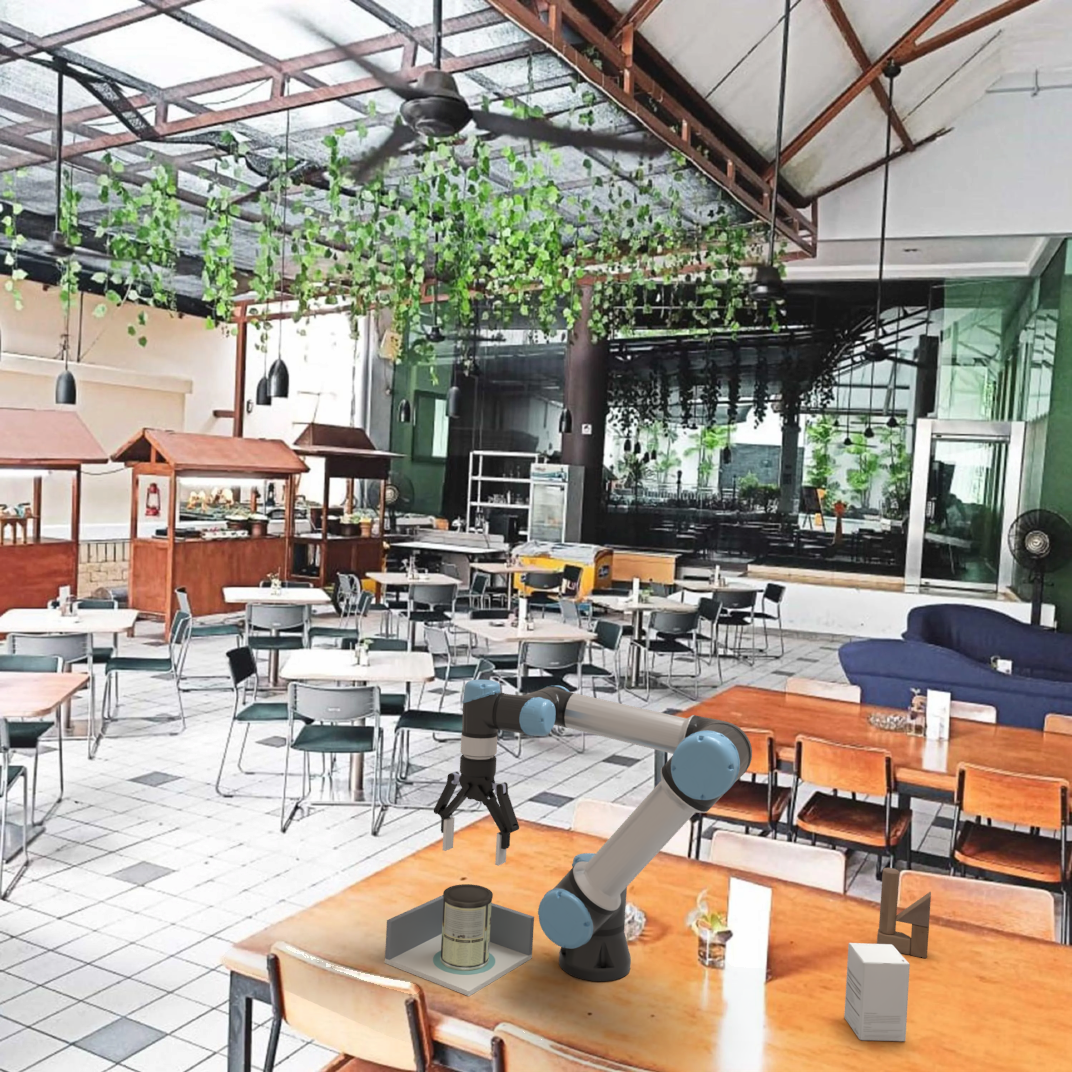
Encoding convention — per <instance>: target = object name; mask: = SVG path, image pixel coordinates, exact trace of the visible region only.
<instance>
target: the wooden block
mask: <svg viewBox="0 0 1072 1072" xmlns="http://www.w3.org/2000/svg"><path fill="white" fill-rule="evenodd" d="M899 883H900V871H899V870H898V869H896V868H894V867H884V868H883V869H882V876H881V893H880V907H879V921H878V922H879V923H878V925H879V926H878V929H877V934H876V936H877V937H876V944H892V945H893V946H894V947H895V948H896V949H897V950H898V952H899V953H900V954H904V955H910V956H913V957H917V958H921V957H922V958H921V959H923V958H924V959H927V958H928V947H929V932H930V917H931V916H930V915H931V902H932V898H931V897H932V892H931V891H929V892H927V893H926V894H924V895H923V896H922V897H920V898H919V899H918V900H916V901H915V902H913V903H912V904H911V905H909V906H908V907H906V908H904V909H903V910H902V911H900V913H898V901H899V900H898V898H899ZM897 913H898V914H897ZM897 922H899V923H905V924H910V925H911V933H910V936H909V935H907V934H906V933H904V932H901V931H897V930H896V929H897Z"/></svg>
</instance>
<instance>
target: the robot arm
mask: <svg viewBox="0 0 1072 1072" xmlns="http://www.w3.org/2000/svg"><path fill="white" fill-rule="evenodd" d="M461 704H462V726H461V738H460V750H459V751H460V753H461V754H462V755H460V757H459V759H460V760H459V762H460V763H459V772H460V773H459V772H458V771H454V772H451V773H448V774H447V778H446V779H447V780H446V784H445V786H444V788H443V790H442V792H441V793H440V796H439V798H438V800H437V803H436V804H435V806H434V808H433V813H434V814H435V815H439V817H440V818H441V820H440V821H441V822H440V832H441V834H442V837H443V838H442V851H444V852H446V851H449V850H451V849H453V848H454V837H455V836H454V835H455V817H454V816H453V815H454V813H455V812H456V810H457V809H458V808H459V807H460V806H461V805H462V803H464V801H465V800H466V799H467V800H474V801H475V802H479V803H480V802H482V804H483V805H484V806H485V807H486V809H487V810H488V812H489V814H490V815H491V818H492V819H493V821H494V822H495V823H494V824H495V825H496V827H497V828H498V830H499V832H497V833H496V842H495V843H496V845H495V863H494V865H495V866H501V865H502V864H505V863H506V862H507V849H509V848H510V842H511V833H513V832H515V831H518V830H519V829H520V825H519V822H518V819H517V816H516V813H515V810H514V807H513V804H512V801H511V798H510V795H509V787H508V786H509V785H508V783H507V782H506V781H504V782H502V783H499V782H498V783H497V782H496V781H495V777H496V772H497V757H496V754H497V751H498V732H499V731H505V732H512V733H517V734H523V735H528V736H533V737H534V736H539V737H545V736H548V735H549V734H551V731H552V730H553V728H554V726H558V727H562V728H567V729H570V730H571V729H572V730H575V731H579V732H583V733H587V734H592V735H595V736H599V737H604V738H607V739H612V740H616V741H620V742H624V743H628V744H632V745H636V746H640V747H644V748H649V749H650V750H651V749H652V750H656V751H660V752H663V753H668V754H672V756H671V757H670V758H669V759H668V760H667V761H666V763H665V764H664V765H663V766H662V767H661V768H660V779H661V780H660V781H659V782H658V783H657V785H656V786H655V787H654V788H653V789H652V790H651V791H650V792H649V793H648V795H647V796H646V797H645V798H644V799H643V800H642V801H641V802H640V803H639V804H638V806H637V807H636V808H635V809H634V810H633V811H632V813H631V814H630V815H628V817H627V818H626V819H625V820H624V821H623V823H622V824H620V826H619V827H618V828H617V829H616V830H615V832H614V833H613V834H612V835H611V836H610V837H608V839H607V840H606V842H605V843H604V844H603V845H602V846H601V847H600V848H599V849H598V851H596V853H593V852H592V853H591V852H589V853H587V852H586V853H579V854H576V855H575V856H574V857H573V861H572V863H571V866H572V868H571V869H570V870H569V871H568V872H567V873H566V874H565V876H564V877H562V879H561V880H560V881H559V882H558V883H557V884H556V885H555V886H554V887H553V888H552V889H550V890H548V891H547V892H546V893H545V894H544V895H543V897H542V899H541V900H540V902H539V906H538V909H537V910H538V911H537V915H538V922H539V923H538V924H539V925H540V927H541V930H542V931H543V934H544V935H545V936H546V937H547V938H548V939H549V940H550V941H551V942H552V943H553V944H554V945H556V946H559V947H560V949H559V956H558V957H559V958H558V964H559V967H560V968H561V969H562V970H563V971H564V972H565V973H567V974H569V975H570V976H573V977H575V978H578V979H581V980H586V981H592V982H608V981H615V980H619V979H622V978H623V977H626V976H627V975H629V973H630V971H631V963H632V958H631V953H630V949H629V945H628V941H627V939H626V938H627V937H626V933H625V921H626V910H627V909H626V908H627V907H626V906H627V892H628V890H627V889H628V886H629V885H630V884H631V883H632V882H633V881H634V880H635V879H636V877H637V876H639V874H640V873H641V872H642V871H643V870H644V869H645V868H646V866H647V865H649V863H651V861H652V860H654V858H655V857H656V856H657V855H658V854H659V852H661V850H662V849H663V848H665V846H666V845H667V844H668V843H669V842H670V841H671V839H672V838H673V837H674V836H675V835H676V834H677V833H678V832H679V831H680V830H681V828H683V827H684V825H686V823H688V821H690V820H691V818H692V817H693V815H695V814H696V813H697V814H698V813H699V814H705V813H708V811H709V810H711V808H712V807H713V806H715V804H716V803H717V802H718V801H719V800H720V798H722V797H723V796H724V794H726V793H727V792H728V791H729V790H730V789H731V788H732V787H733V786H734V784H735V783H736V782H737V781H738V780H739V779H740V778H741V777H742V776H743V775H744V774H745V773H746V772H747V771H748V769H749V767H750V765H751V763H752V759H753V749H752V743H751V741H750V739H749V737H748V735H747V734H746V733H745V732H744V731H743V729H741V727H739V726H737V725H736V724H734V723H732V722H728V721H726V720H721V719H716V718H709V717H705V716H700V715H695V714H692V715H691V716H689V717H687V718H686V717H682V716H677V715H672V714H668V713H664V712H659V711H656V710H650V709H647V708H642V707H637V706H633V705H628V704H624V703H621V702H620V703H619V702H615V701H611V700H606V699H601V698H597V697H593V696H588V695H583V694H580V693H576V692H571V691H570V690H569V689H568V688H566V687H564V686H562V685H549V686H546V687H543V688H541V689H538V690H536V691H532V692H530V693H526V694H524V695H521V694H520V695H518V694H509V693H505V692H501V685H500V683H499V682H498V681H497V680H496V681H495V680H493V679H492V680H491V679H472V680H468V681H467V682H465V685H464V690H463V697H462V701H461ZM458 784H460V787H461V788H460V789H459V790H458V792H457V793H456V795H455V796H454V798H453V799H452V800H451V798H452V797H453V794H454V792H455V790H456V788H457V786H458ZM450 800H451V801H450Z"/></svg>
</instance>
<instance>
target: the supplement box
mask: <svg viewBox="0 0 1072 1072" xmlns="http://www.w3.org/2000/svg"><path fill="white" fill-rule="evenodd" d="M847 947H848V949H847V964H846V980H845V982H846V983H845V997H844V999H845V1000H844V1013H843V1016H844V1017H843V1018H844V1019H845V1021H846V1022H847V1023H848V1025H849V1026H850V1028H851V1030H852V1031H853V1032H854V1034H855V1035H856V1037H857V1038H858V1040H860V1041H881V1042H882V1041H885V1042H906V1040H907V1022H908V1021H907V1020H908V1019H907V1018H908V1006H909V1005H908V1001H909V984H910V967H911V965H910V963H909V961H908V960H907V959H906V958H905V957H904V955H902V953H899V952H898V950H897V949H896V948H895V947H894V946H893V945H892V944H877V943H862V942H861V943H859V942H848V946H847Z"/></svg>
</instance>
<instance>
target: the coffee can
mask: <svg viewBox="0 0 1072 1072" xmlns="http://www.w3.org/2000/svg"><path fill="white" fill-rule="evenodd" d="M442 895H443V898H444V900H443V921H442V941H441V957H440V960H441V963H442V964H443V965H445V966H446V967H448V968H451V969H455V970H461V971H469V970H476V969H480V968H482V967H484V966H486V965H487V964H488V962H489V944H490V924H491V905H492V903H493V902H492V901H493V896H494V893H493V892H492V890H491V889H489V888H487V887H485V886H481V885H478V884H471V883H470V884H464V883H463V884H455V885H452V886H449V887H447V888H445V889H444V890H443V893H442Z"/></svg>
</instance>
